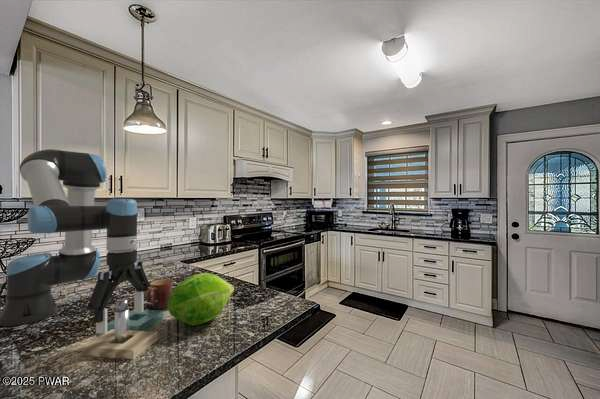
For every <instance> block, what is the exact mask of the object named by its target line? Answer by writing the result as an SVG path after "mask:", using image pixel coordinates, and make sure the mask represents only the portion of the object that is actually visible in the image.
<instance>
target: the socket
mask: <svg viewBox="0 0 600 399" xmlns="http://www.w3.org/2000/svg"><path fill="white" fill-rule="evenodd" d="M163 319H164V310H161V309H144V310H143V312H134V308H133V309H132V310H129V330H132V331H148V330H150V329H151V328H152V327H153V326H155V325H157V324H158V323H159V322H160V321H162V320H163ZM112 329H114V330H115V319H113V320H111V321H110V322H107V332H108V331H110V330H112ZM147 329H148V330H147Z"/></svg>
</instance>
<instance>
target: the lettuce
mask: <svg viewBox="0 0 600 399" xmlns="http://www.w3.org/2000/svg"><path fill="white" fill-rule="evenodd" d="M234 291H235V287H234V286H233V285H232V284H231V283H230V282H228V281H226V280H225V279H223V278H222V277H220V276H218V275H216V274H214V273H210V272H208V273H207V272H206V273H205V272H204V273H203V272H202V273H196V274H193V275H190V276H188V277H187V278H185V279H184V280H183V281H182V282H180V283H179V284H177V285H176V286H175V287H174V289H172V293H171V295H170V296H169V298H168V305H167V309H168V312H169V314H170V315H171V317H173V318H174V319H176V320H178V321H180V322H183V323H186V324H188V325H190V326H198V325H202V324H204V323H205V324H206V323H208V322H210V321H212V320H214V319H216V318H217V317H218V316H220V313H221V312H222V311H223V309H224V308H225V306H226V305H227V303H228V302H229V298H230V297H231V296H232V295H233V294H234Z"/></svg>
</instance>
